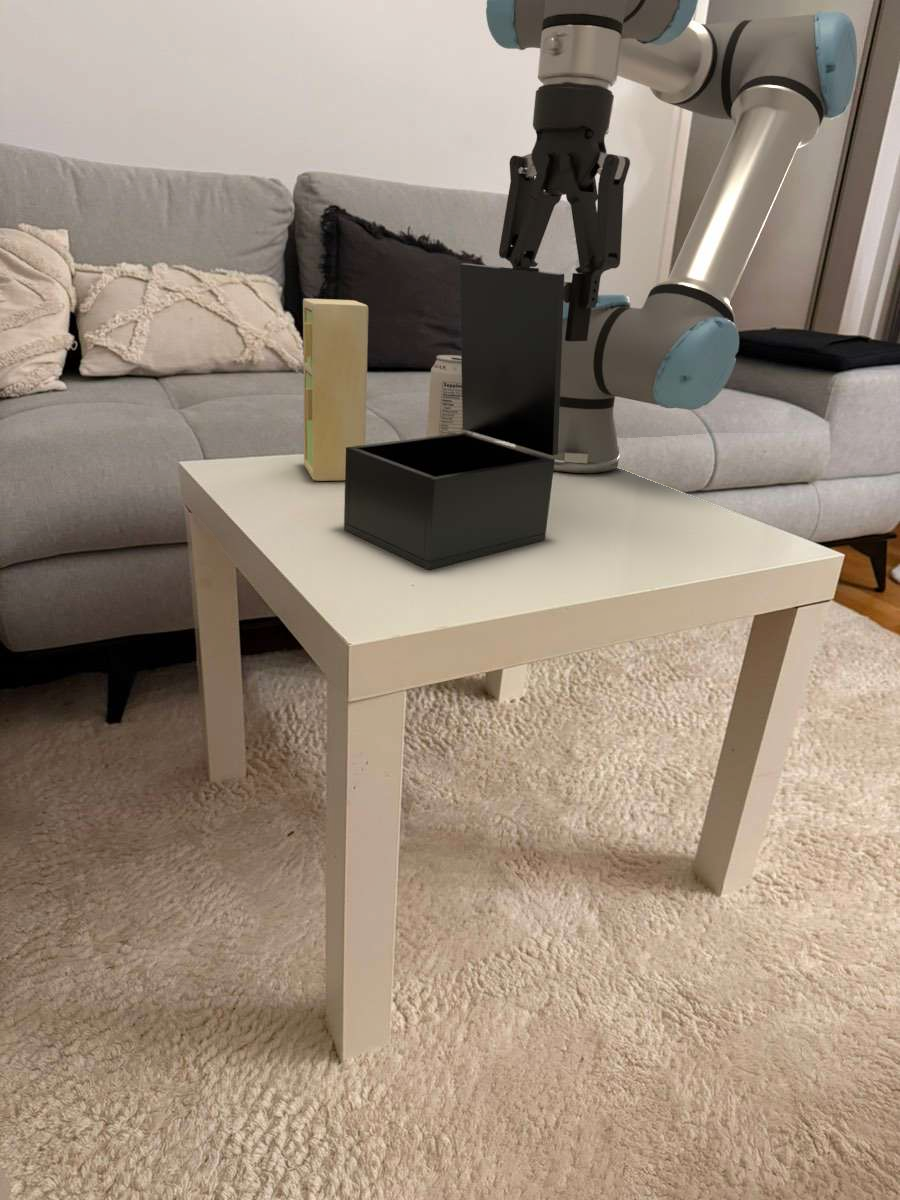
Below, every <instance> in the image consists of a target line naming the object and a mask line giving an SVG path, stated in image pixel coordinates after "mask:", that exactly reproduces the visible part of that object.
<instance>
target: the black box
mask: <svg viewBox="0 0 900 1200" xmlns="http://www.w3.org/2000/svg"><path fill="white" fill-rule="evenodd" d="M554 462H555V460H554V459H551V458H548V457H544V456H541V455H538V454H534V453H531V452H528V451H524V450H521V449H518V448H515V446H511V445H507V444H504V443H501V442H498V441H494V440H491V439H487V438H484V437H480V436H476V435H474V434H473V435H471V434H468V433H458V434H450V435H442V436H433V437H427V436H425V437H419V438H410V439H402V440H395V441H394V440H393V441H387V442H386V441H385V442H379V443H371V444H365V445H361V446H353V447H346V465H345V480H344V507H343V509H344V510H343V514H344V515H343V522H344V523H343V530H344V531H345V532H348V533H350V534H353V535H354V536H355V537H356V536H357V537H358V538H360V539H363V540H365V541H367V542H369V543H371V544H373V545H376V546H377V547H380V548H382V549H383V550H386V551H388V552H390V553H392V554H394V555H396V556H398V557H401V558H403V559H404V560H407V561H409V562H411V563H413V564H415V565H418V566H419V567H421V568H424V569H426V570H428V571H429V570H433V569H437V568H441V567H445V566H448V565H453V564H457V563H461V562H465V561H468V560H472V559H476V558H480V557H484V556H488V555H492V554H495V553H501V552H503V551H507V550H511V549H515V548H519V547H522V546H527V545H531V544H534V543H539V542H542V541H545V540H546V533H547V526H548V518H549V509H550V501H551V493H552V485H553V478H554V471H555V470H554Z"/></svg>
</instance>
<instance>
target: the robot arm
mask: <svg viewBox="0 0 900 1200" xmlns="http://www.w3.org/2000/svg"><path fill="white" fill-rule="evenodd" d="M698 1H699V0H486V8H485V15H486V23H487V27H488V30H489V33H490V36H491V37H492V38H493V40H494V41H495V42H496V44H498V45H499V46H500V47H502V48H504V49H508V50H519V51H525V50H526V49H533V48H534V49H539V59H538V70H537V79H538V81H540V82H541V83H542V85H541V86H539V87H538V88H537V89H536V90H535V97H534V107H533V116H532V117H533V118H532V127H533V130H534V131H535V133H536V140H535V143H534V146H533V148H532V150H531V152H530V153H527V154H525V155H523V156H521V155H511V157H510V159H509V174H510V178H509V179H510V183H509V187H508V188H509V189H508V195H507V201H506V207H505V212H504V219H503V224H502V225H503V226H502V231H501V235H500V236H501V237H500V242H499V248H498V255H499V257H500V258H501V259H505V260H506V261H508V262H509V263H510V265H511V266H512V267H511V268H513V269H523V270H532V271H540V268H538V267H537V266H538V264H539V263H538V262H537V261H536V257H537V255H538V252H539V249H540V247H541V244H542V242H543V239H544V236H545V234H546V230H547V228H548V225H549V222H550V220H551V216H552V214H553V211H554V209H555V206H556V205H557V204H559V203H560V201H561V198H562V196H565V199H566V201H567V202H568V204H569V205H570V209H571V216H572V223H573V230H574V237H575V244H576V250H577V251H576V252H577V258H578V264H579V266H578V267H575V268H574V270H575V272H573V273H572V277H571V283H572V285H571V293H570V302H569V303H563V327H562V355H561V383H560V411H559V438H558V454H557V455H554V456H552V455H549V454H545V453H542V452H538V451H535V450H532V449H528V448H525V447H522V446H518V445H515V444H514V448H518V449H521V450H524V451H528V452H531V453H534V454H538V455H541V456H544V457H548V458H551V459H554V460H555V462H554V470H553V471H555V472H564V473H578V474H594V473H595V474H596V473H605V472H610V471H614V470H615V469H616V468H617V467H618V466H619V460H620V447H619V445H618V437H617V430H616V428H617V427H616V422H615V415H614V407H615V400H616V397H617V398H621V399H626V400H631V401H636V402H640V403H641V402H642V403H645V404H646V403H647V404H650V405H656V406H659V407H661V408H664V409H680V410H691V411H692V410H693V411H694V410H698V409H700V408H702V407H704V406H706V405H708V404H710V403H711V402H712V401H713V400H715V398H716V397H717V396H718V395H719V394H720V393H721V392H722V390H723V389H724V387H725V386H726V384H727V383H728V381H729V379H730V377H731V375H732V373H733V370H734V368H735V365H736V362H737V359H736V355H737V353H738V352H739V348H740V334H739V331H738V328H737V325H735V320H736V316H735V312H734V309H733V308H732V306H731V304H730V303H731V301H732V298H733V296H734V295H735V292H736V289H737V287H738V284H739V282H740V280H741V278H742V276H743V273H744V271H745V269H746V266H747V264H748V262H749V261H750V257H751V255H752V253H753V251H754V248H755V246H756V244H757V242H758V240H759V237H760V234H761V232H762V230H763V228H764V226H765V223H766V221H767V220H768V216H769V214H770V212H771V209H772V208H773V205H774V203H775V200H776V199H777V196H778V194H779V191H780V189H781V187H782V184H783V183H784V179H785V177H786V175H787V173H788V170H789V168H790V166H791V164H792V162H793V159H794V157H795V154H796V152H797V150H798V149H800V148H802V147H804V146H807V145H808V144H809V143H811V142H812V141H813V139H815V137H816V135H817V134H818V132H819V129H820V128H821V125H822V122H823V120H824V119H827V118H828V119H829V120H833V119H835V118H839V117H840V116H842V115H844V113H845V112H846V111H847V109H848V107H849V105H850V102H851V99H852V96H853V92H854V88H855V83H856V82H855V81H856V77H857V76H856V75H857V65H858V63H857V62H858V43H857V35H856V30H855V26H854V23H853V21H852V19H851V18H850V17H849V16H848V15H847V14H845V13H843V12H839V11H838V12H822V11H815V12H814V13H813V14H805V15H793V16H782V17H781V16H780V17H770V18H769V17H768V18H756V19H744V20H734V21H727V22H719V23H700V22H698V21H696V20H693V17H694V14H695V13H696V9H697V6H698ZM618 77H619V78H623V79H625V80H629V81H631V82H634V83H637V84H640V85H643V86H645V87H648V88H649V90H650V91H651V93H652V94H653V96H655V97H656V98H657V99H658V100H659V101H661V102H663V103H666V104H670V105H672V106H675V107H678V108H680V109H683V110H686V111H688V112H692V113H694V114H699V115H702V116H704V117H708V118H713V119H718V120H719V119H720V120H727V121H728V120H730V121H731V120H732V123H733V125H734V129H733V131H732V133H731V135H730V138H729V140H728V142H727V144H726V146H725V149H724V151H723V153H722V156H721V157H720V160H719V163H718V165H717V167H716V170H715V172H714V173H713V176H712V177H711V181H710V183H709V185H708V188H707V190H706V192H705V194H704V197H703V198H702V201H701V203H700V206H699V208H698V209H697V210H698V211H697V212H696V215H695V217H694V218H693V222H692V223H691V226H690V228H689V230H688V233H687V235H686V237H685V240H684V242H683V244H682V246H681V248H680V251H679V253H678V255H677V258H676V260H675V262H674V265H673V267H672V269H671V271H670V274H669V276H668V278H667V280H665V281H662V282H659V283H657V284H655V285H653V286H652V287H651V289H650V291H649V293H648V295H647V298H646V299H645V301H644V304H643V306H642V307H641V308H638V307H631V301H630V297H629V296H628V295H625V294H599V292H600V283H601V277H602V275H603V274H604V272H606V271H609V270H612V269H617V268H619V266H620V264H621V255H622V254H621V253H622V236H623V235H622V231H623V215H624V214H623V212H624V211H623V210H624V192H625V191H624V190H625V182H626V179H627V176H628V173H629V169H630V166H631V159H630V158H629V157H627V156H624V155H619V154H618V155H617V154H613V153H607V152H608V151H607V147H606V143H605V139H606V136H607V135H608V134H609V133H610V131H611V124H612V116H613V107H614V99H615V95H614V94H613V91H612V90H610V88H611V87H613V86H614V85H615V84H616V83H617V80H618ZM597 175H599V178H598V179H599V180H598V183H597V180H596V176H597ZM597 184H598V185H597Z"/></svg>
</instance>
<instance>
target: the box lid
mask: <svg viewBox="0 0 900 1200" xmlns="http://www.w3.org/2000/svg"><path fill="white" fill-rule="evenodd" d="M571 285H572V281H571V282H570V281H565V273H558V272H550V271H540V270H539V271H532V270H523V269H513V267H502V266H494V265H485V264H484V265H483V264H476V263H475V264H474V263H466V262H464V263H459V302H460V303H459V305H460V307H459V308H460V309H459V310H460V313H459V314H460V356H461V367H462V420H463V429H464V430H467V431H471V432H473V434H474V433H475V434H478V435H481V436H484V437H488V438H492V439H495V440H498V441H502V442H505V443H508V444H512V445H514V446H515V445H518V446H522V447H525V448H528V449H532V450H535V451H538V452H542V453H545V454H549V455H552V456H554V455H557V454H558V438H559V411H560V383H561V355H562V327H563V303H569V302H570V293H571Z"/></svg>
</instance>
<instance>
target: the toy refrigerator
mask: <svg viewBox="0 0 900 1200" xmlns="http://www.w3.org/2000/svg"><path fill="white" fill-rule="evenodd" d="M302 324H303V325H302V338H303V341H302V345H303V346H302V348H303V350H302V351H303V352H302V353H303V354H302V355H303V356H302V357H303V359H302V361H303V363H302V365H303V466H304V468H305V469H306V471H307V472H308V474H309V475H310V477H311V479H312V480H313V481H315V482H316V481H317V482H318V481H319V482H320V481H321V482H323V481H324V482H325V481H326V482H327V481H328V482H330V481H345V465H346V447H353V446H361V445H366V438H367V437H366V434H367V433H366V431H367V394H368V393H367V391H368V390H367V389H368V387H367V385H368V350H369V349H368V347H369V346H368V343H369V306H368V305H367V304H365V303H363V302H360V301H357V300H353V299H352V300H351V299H327V298H303V300H302Z"/></svg>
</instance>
